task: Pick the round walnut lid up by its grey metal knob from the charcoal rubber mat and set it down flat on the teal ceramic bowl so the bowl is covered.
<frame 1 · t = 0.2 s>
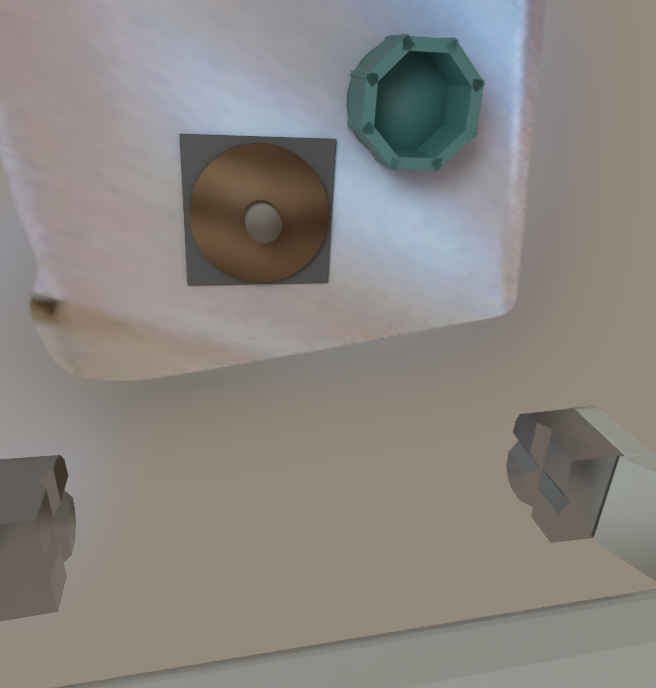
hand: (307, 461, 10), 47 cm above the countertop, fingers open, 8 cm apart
mat: (259, 213, 56), on the countertop
lid: (259, 214, 55), resting on mat
bowl: (400, 101, 54), on the countertop
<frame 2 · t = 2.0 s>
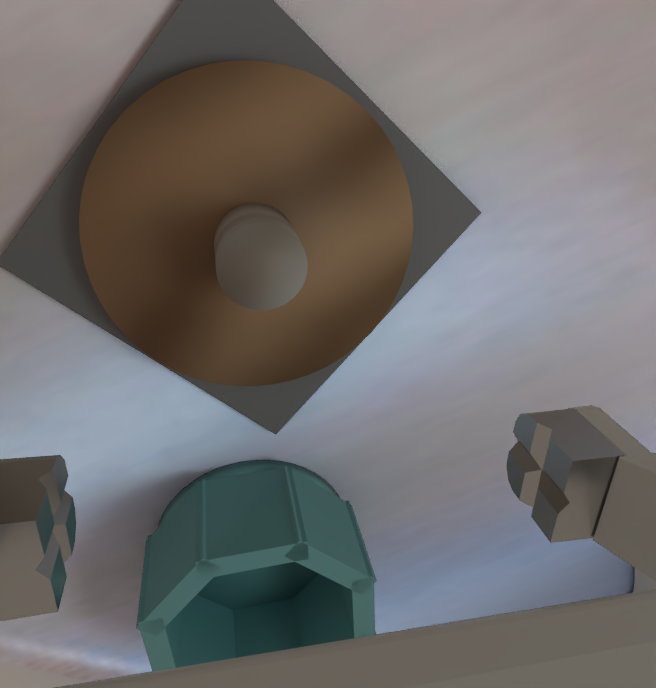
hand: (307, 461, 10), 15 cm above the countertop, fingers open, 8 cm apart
mat: (252, 233, 24), on the countertop
lid: (253, 236, 24), resting on mat
bowl: (254, 536, 31), on the countertop
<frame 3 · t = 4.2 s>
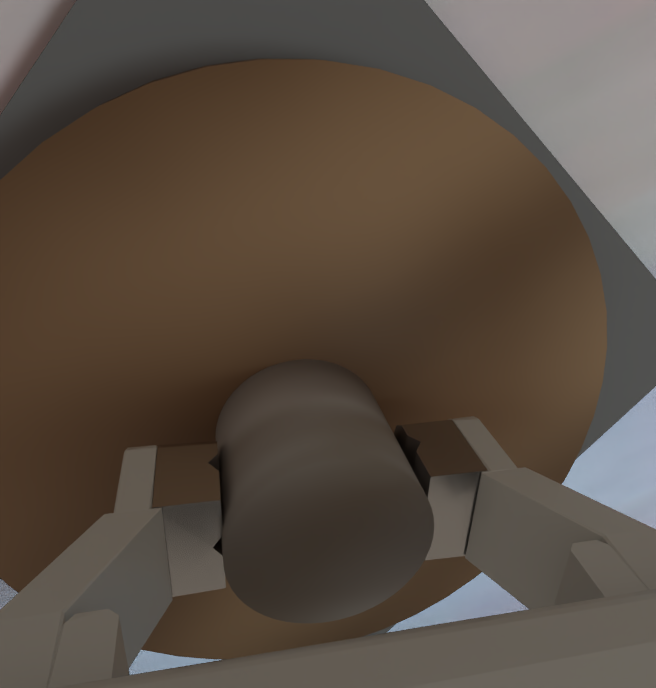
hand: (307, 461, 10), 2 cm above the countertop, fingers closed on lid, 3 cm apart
mat: (288, 394, 12), on the countertop
lid: (291, 404, 12), resting on mat, touching gripper
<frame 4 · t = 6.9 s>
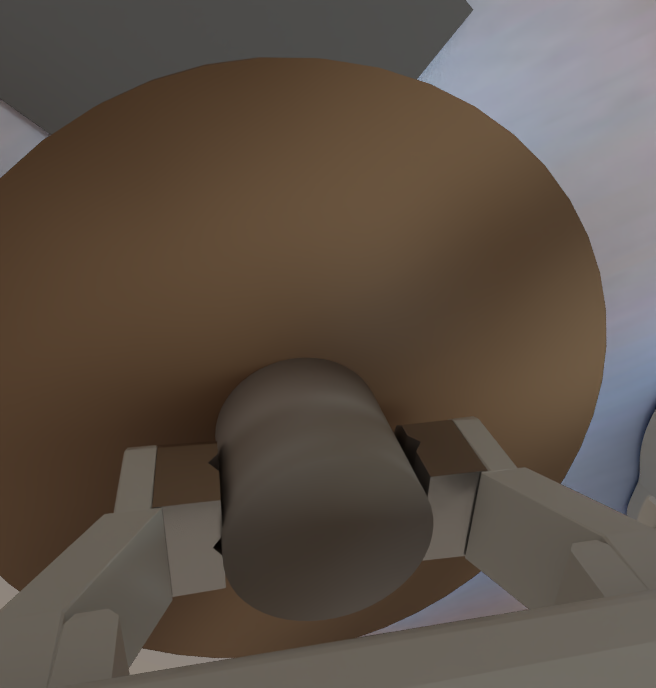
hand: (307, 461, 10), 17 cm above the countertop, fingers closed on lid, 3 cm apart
mat: (220, 27, 22), on the countertop
lid: (291, 403, 12), point 15 cm above the countertop, touching gripper
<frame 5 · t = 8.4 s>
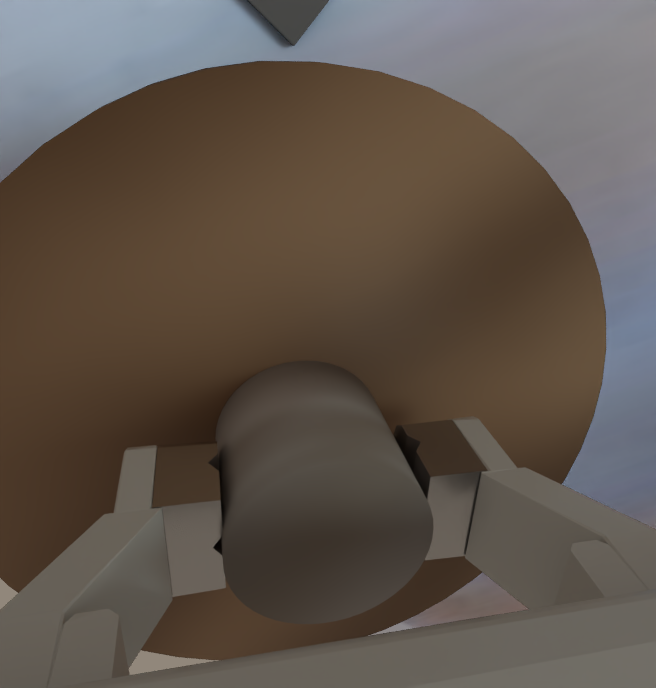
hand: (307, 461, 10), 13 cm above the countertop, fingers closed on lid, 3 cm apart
lid: (291, 406, 12), point 11 cm above the countertop, touching gripper
when the fingers open (9 cm above the countertop, at t = 9.6 s): lid drops 1 cm, resting on bowl.
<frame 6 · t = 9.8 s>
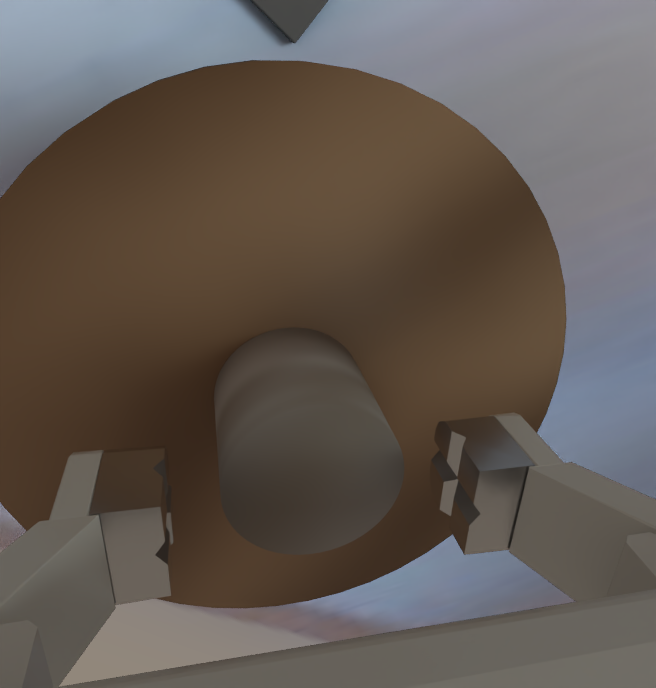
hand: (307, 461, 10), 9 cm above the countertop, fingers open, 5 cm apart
lid: (282, 372, 13), point 6 cm above the countertop, touching bowl
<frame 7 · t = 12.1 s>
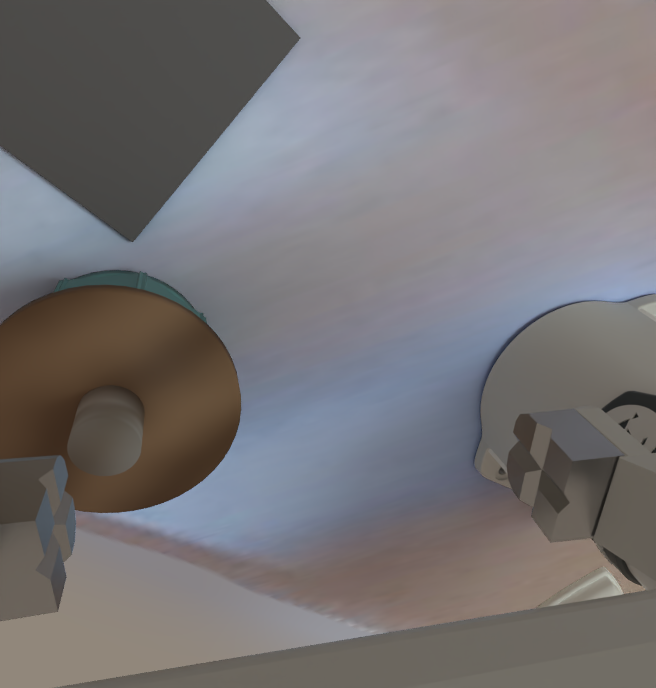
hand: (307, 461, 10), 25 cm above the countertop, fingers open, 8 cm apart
mat: (98, 41, 28), on the countertop
lid: (113, 402, 30), point 6 cm above the countertop, touching bowl
soap: (573, 600, 58), on the countertop
bowl: (121, 349, 35), on the countertop
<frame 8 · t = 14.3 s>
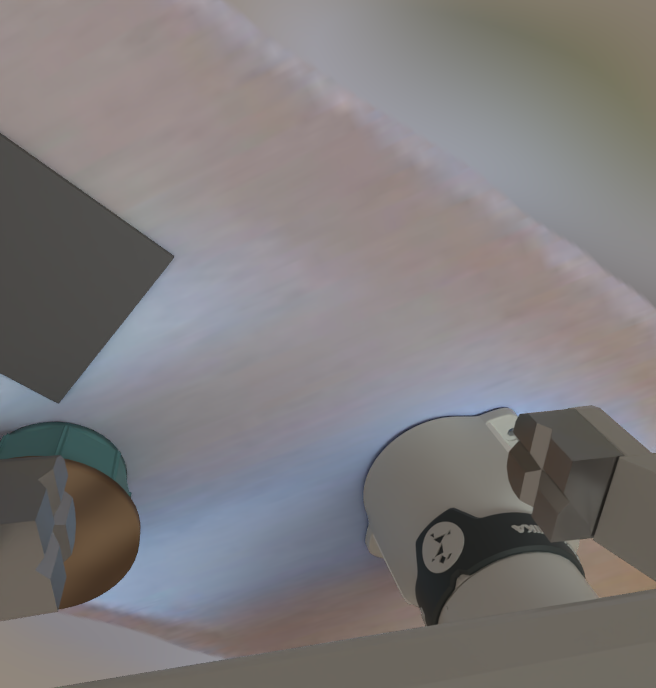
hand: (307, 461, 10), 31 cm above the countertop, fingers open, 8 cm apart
mat: (19, 273, 38), on the countertop
lid: (41, 532, 40), point 6 cm above the countertop, touching bowl
bowl: (58, 476, 45), on the countertop
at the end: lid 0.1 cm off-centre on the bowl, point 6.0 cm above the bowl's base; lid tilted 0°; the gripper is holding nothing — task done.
